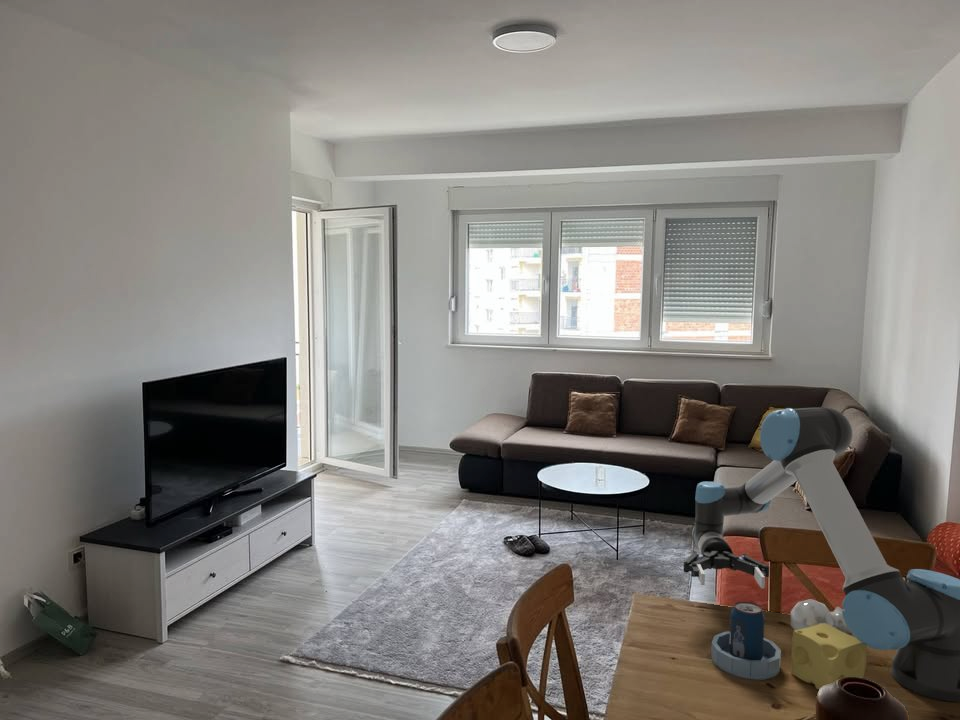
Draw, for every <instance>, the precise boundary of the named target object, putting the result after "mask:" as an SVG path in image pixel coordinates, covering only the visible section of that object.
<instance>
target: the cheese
mask: <svg viewBox="0 0 960 720" xmlns="http://www.w3.org/2000/svg"><path fill="white" fill-rule="evenodd" d="M791 639H792V640H791V656H790V659H791V660H790V667H791V668H790V670H791V671H790V672H791V673H790V674H792V675H793V676H795V677H796V678H798V679H800V680H802V681H803V682H805V683H808V684H813V685H814V687H815V689H817V690H818V689H819V688H820V687H822V686H823V685H826V684H830V683H833V682H835V681H836V680H838V679H840V678H843V677H860V678H863V679H864V675H865V671H866V665H867V659H868V658H867V645H865V644H863V643H862V642H860V641H859V640H858V639H857V638H856V637H855V636H854V635H849V634H846V633H844V632H842V631H840V630H838V629H836V628H834V627H832V626H830V625H828V624H826V623H823V624H818V625H815V626H812V627H808V628H804V629H799V630H794V629H793V631H792V638H791Z"/></svg>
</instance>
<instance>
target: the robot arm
mask: <svg viewBox="0 0 960 720" xmlns="http://www.w3.org/2000/svg"><path fill="white" fill-rule="evenodd" d="M760 426H761V427H760V431H759V443H760V447H761V449H762V451H763V453H764V455H765V456H766V457H767V458H769V459H771V460H772V461H770V463H768V464H767V465H766V466H764V468H762V469H761V470H760V471H759V472H757V473H756V474H755V475H754V476H752V477H751V478H750V479H748V480H747V481H746V482H745V483H743V484H742V485H740V486H736V487H727V488H725V485H724V484H723V483H720V482H717V481H701V482H699V483H697V485H696V488H695V489H696V490H695V498H694V499H695V519H694V526H693V528H692V530H691V534H692V540H693V542H694V545H695V546H696V548H697V549H698V551H699V553H698V551H696V550H693V551H691V555H689V556H688V557H687V558H686V559H685V560H684V561H683V573H689V572H691V574H690V576H691V577H692V578H696V577H697V580H698V581H699V582H700V585H701V586H705V585H706V584H705V583H706V582H705V581H706V573H705V570H708V569H709V570H712V569H714V570H723V569H730V570H732V571H737V570H738V571H741V572H743V573H746V574H748V575H751V576H753V577H754V579H755V581H756V583H757V584H758V585H759V587H760V588H761V589H765V587H766V586H765V585H766V580H767V579H766V578H769V577H770V566H769V565H767V564H765V563H763V562H761V561H759V560H756V559H755V558H752V557H750V556H749V555H748V554H746V553H742V555H741V556H738V555H737V554H735V553H734V552H733V550H732V548H731V546H730V545H729V543H728V542H727V540H726V539H725V537H724V520H725V517H729V516H737V515H747V514H758V513H762V512H765V511H767V510H768V509H769V507H770V505H771V500H772V499H774V498H775V497H777V496H778V495H780V494H781V493H782V492H784V491H785V490H786V489H787V488H789V487H790V486H792V485H793V484H795V483H796V482H797V484H798V485H799V487H800V490H801V491H802V493H803V495H804V497H805V499H806V501H807V503H808V505H809V507H810V509H811V511H812V513H813V515H814V517H815V519H816V521H817V523H818V526H819V527H820V529H821V532H822V533H823V535H824V538H825V539H826V541H827V543H828V546H829V548H830V549H831V551H832V554H833V556H834V557H835V559H836V562H837V563H838V565H839V567H840V570H841V572H842V573H843V576H844V579H845V581H844V582H843V586H842V591H843V594H844V595H845V597H844V598H843V600H842V604H841V606H842V609H843V610H842V614H843V618H844V621H845V623H846V625H847V627H848V629H849V630H850V631H851V633H852V634H853V635H852V636H854V637H856V638H857V639H858V640H859V641H860V642H862V643H863V644H865V645H866V647H869V648H870V649H874V650H878V651H887V650H893V651H895V650H896V652H895V654H894V655H893V658H892V661H891V666H890V667H891V669H890V674H891V675H892V678H894V680H895V681H896V682H897V683H898V684H900V685H902V687H904V688H906V689H908V690H910V691H912V692H914V693H916V694H919V695H921V696H924V697H926V698H931V699H935V700H940V701H944V700H945V702H953V703H955V702H957V703H958V702H960V578H957V577H954V576H951V575H949V574H946V573H943V572H937V571H934V570H929V569H922V568H915V569H914V568H913V569H910V570H908V572H907V575H906V580H905V579H904V577H903V575H902V574H901V572H900V570H899V569H897V568H895V567H892V566H890V565H889V564H887V561H886V560H885V558H884V556H883V554H882V552H881V551H880V548H879V547H878V545H877V543H876V541H875V539H874V538H873V536H872V533H871V532H870V529H869V528H868V526H867V524H866V522H865V521H864V518H863V517H862V515H861V512H860V510H859V509H858V508H857V505H856V503H855V501H854V499H853V498H852V496H851V495H850V492H849V490H848V489H847V486H846V485H845V482H844V481H843V479H842V477H841V476H840V473H839V471H838V470H837V468H836V466H835V464H834V460H835V459H837V458H838V457H840V456H841V455H842V454H843V453H845V451H847V449H848V448H849V446H850V445H851V442H852V441H853V440H852V439H853V428H852V424H851V423H850V421H849V419H848V418H847V417H846V416H845V415H844V414H843V413H842V412H841V411H839V410H837V409H835V408H832V407H828V406H816V407H802V408H801V407H800V408H792V407H786V408H783V409H777V410H773V411H771V412H770V413H768V414H767V415H766V416H765V418H764V420H763V421H762V423H761V425H760Z"/></svg>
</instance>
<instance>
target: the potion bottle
mask: <svg viewBox="0 0 960 720" xmlns="http://www.w3.org/2000/svg"><path fill="white" fill-rule="evenodd" d="M843 609H844V608H841V607H840V606H838V605H836V607H835V609H834V610H833V611H830V610H829V608H828V607H827V606H826V605H825V603H823V602H820V601H817V600H815V599H812V598H810V599H805V600H801V601H798V602H797V603H796V604H795V605H794V606H793V607H792V609H791V611H790V626H791V627H792V629H793V631H794V630H799V629H804V628H808V627H812V626H815V625H818V624H823V623H826V624H828V625H830V626H832V627H834V628H836V629H838V630H840V631H842V632H844V633H846V634H849V635H851V636H854V635H853V634H852V633H851V631H850V630H849V629H848V627H847V625H846V623H845V621H844V618H843V614H842V610H843Z"/></svg>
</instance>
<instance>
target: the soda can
mask: <svg viewBox="0 0 960 720" xmlns="http://www.w3.org/2000/svg"><path fill="white" fill-rule="evenodd" d="M730 611H731V612H730V625H729V626H730V628H729V632H730V642H729V652H730V655H732V656H734V657H738V658H742V659H746V660H761V659H762V657H763V638H765V636H764V633H765V615H764V613H763V612H764V611H763V608H762V606H760V605H759V604H757V603H754V602H750V601H743V600H742V601H736V602H735V603H734V605H733V607H732V609H731V610H730Z"/></svg>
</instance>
